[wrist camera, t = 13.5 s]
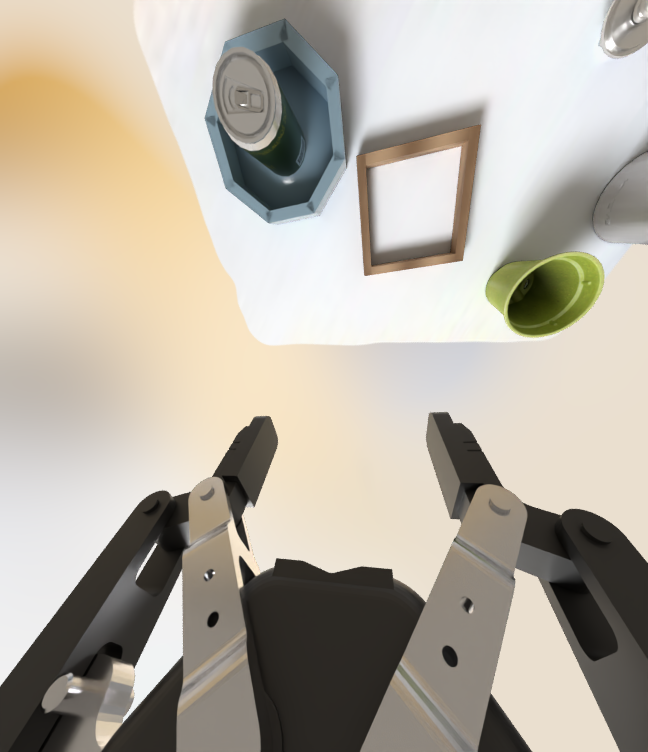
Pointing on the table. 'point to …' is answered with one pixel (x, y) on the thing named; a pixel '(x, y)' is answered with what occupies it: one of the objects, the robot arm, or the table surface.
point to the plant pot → (546, 292)
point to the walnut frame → (463, 198)
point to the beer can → (257, 111)
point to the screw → (625, 28)
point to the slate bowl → (315, 116)
